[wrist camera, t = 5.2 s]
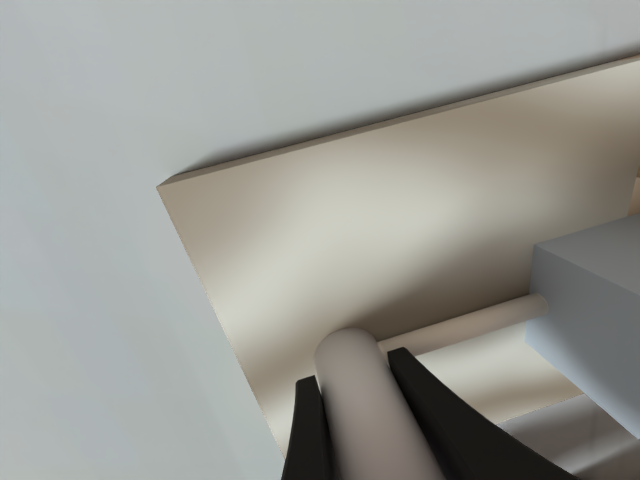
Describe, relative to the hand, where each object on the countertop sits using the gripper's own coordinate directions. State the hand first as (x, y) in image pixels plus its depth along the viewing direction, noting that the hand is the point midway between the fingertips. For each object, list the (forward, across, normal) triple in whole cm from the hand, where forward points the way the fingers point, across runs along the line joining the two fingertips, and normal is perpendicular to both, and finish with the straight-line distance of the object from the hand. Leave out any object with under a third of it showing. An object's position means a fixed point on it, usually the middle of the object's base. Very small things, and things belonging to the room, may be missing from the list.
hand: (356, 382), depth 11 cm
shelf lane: (+3, -9, 0) cm, 10 cm away
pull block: (+1, -6, 0) cm, 6 cm away
